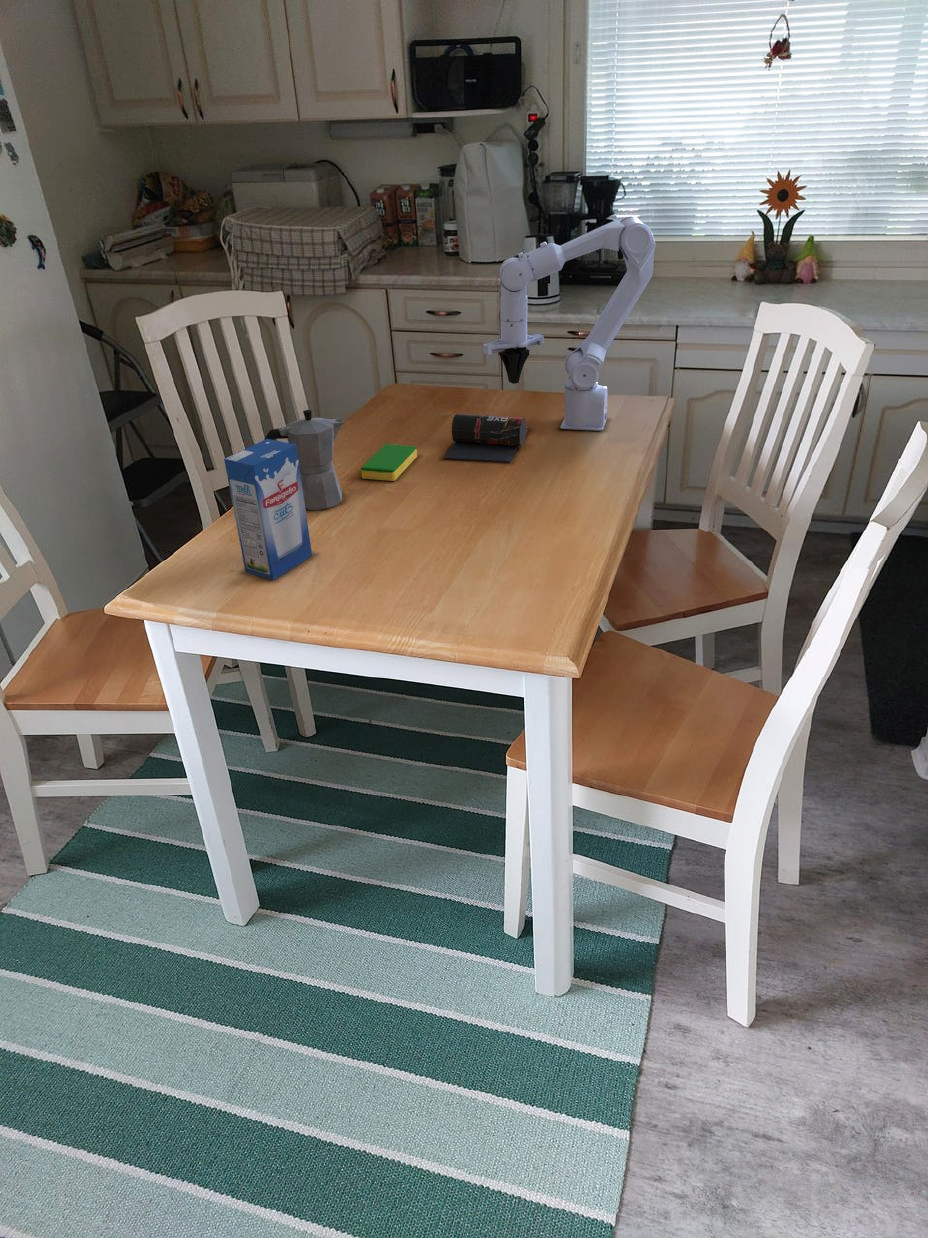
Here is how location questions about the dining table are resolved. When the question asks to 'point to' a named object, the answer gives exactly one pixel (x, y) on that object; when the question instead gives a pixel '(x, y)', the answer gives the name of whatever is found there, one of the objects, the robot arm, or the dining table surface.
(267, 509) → the milk carton
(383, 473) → the dish sponge
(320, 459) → the coffeepot
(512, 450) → the mat
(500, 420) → the deodorant
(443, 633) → the dining table surface
